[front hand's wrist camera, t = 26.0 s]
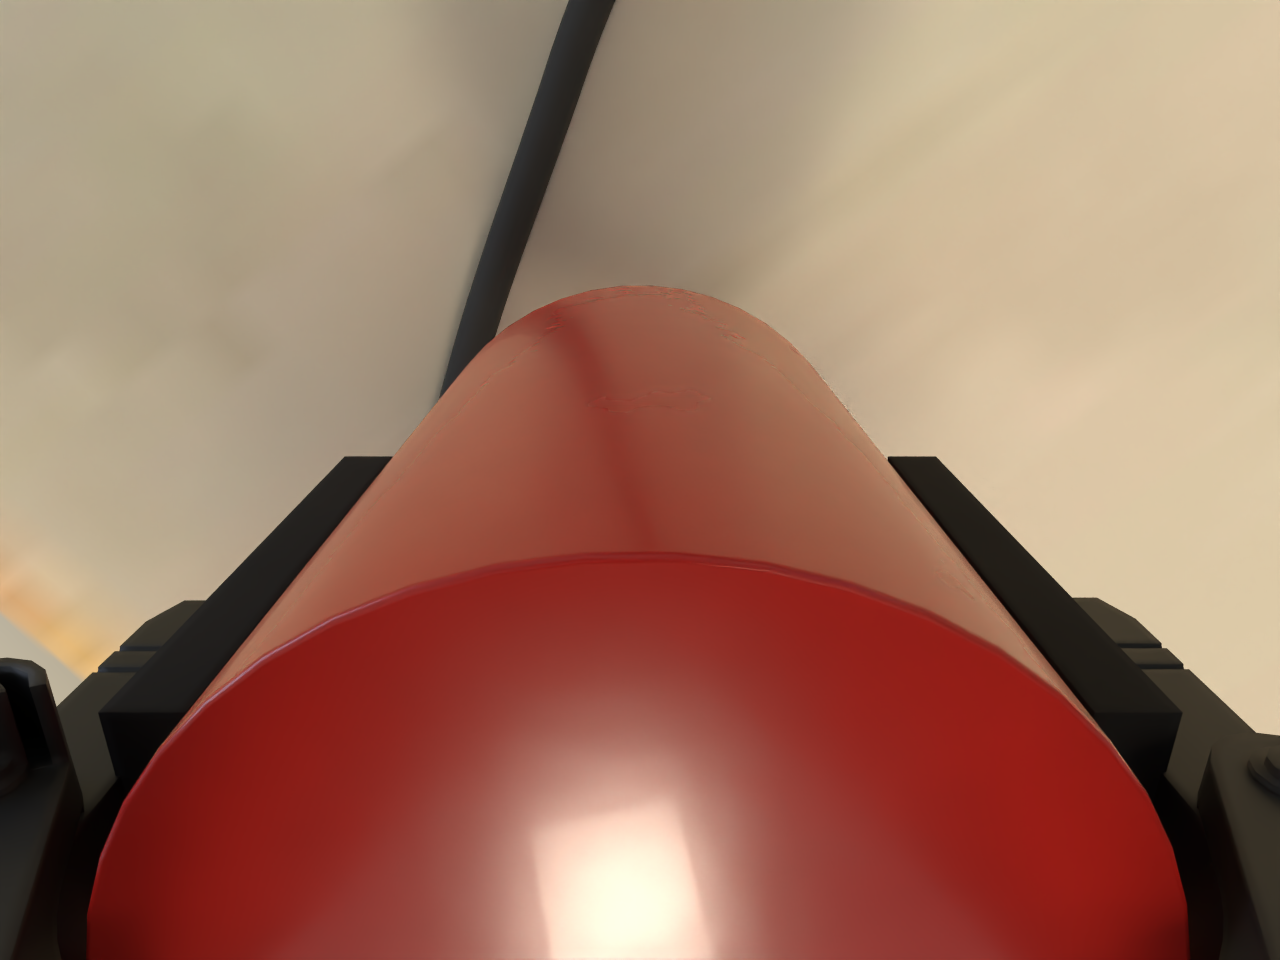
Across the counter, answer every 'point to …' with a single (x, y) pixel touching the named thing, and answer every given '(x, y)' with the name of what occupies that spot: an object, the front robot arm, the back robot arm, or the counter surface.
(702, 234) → the counter surface
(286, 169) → the counter surface
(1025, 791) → the tin
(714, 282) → the counter surface
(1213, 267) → the counter surface
